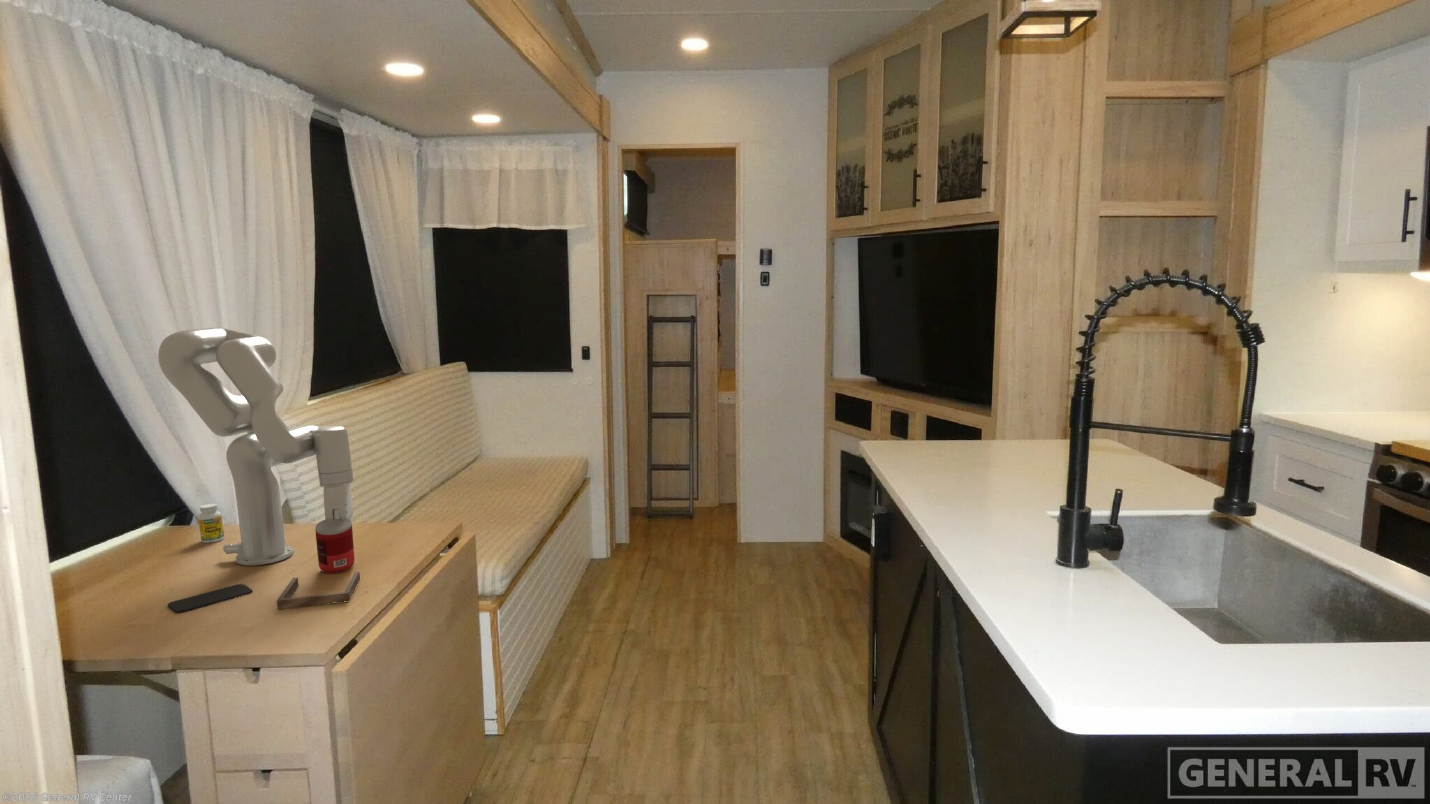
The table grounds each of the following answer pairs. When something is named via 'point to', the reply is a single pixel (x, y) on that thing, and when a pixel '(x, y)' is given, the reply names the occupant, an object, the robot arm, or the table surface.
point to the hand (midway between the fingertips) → (345, 549)
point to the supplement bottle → (210, 523)
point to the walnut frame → (303, 601)
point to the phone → (209, 598)
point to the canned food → (335, 545)
